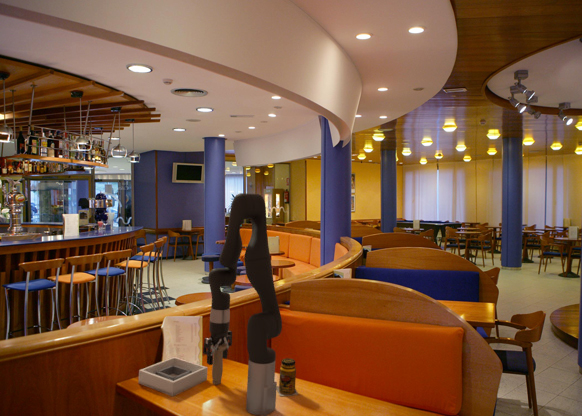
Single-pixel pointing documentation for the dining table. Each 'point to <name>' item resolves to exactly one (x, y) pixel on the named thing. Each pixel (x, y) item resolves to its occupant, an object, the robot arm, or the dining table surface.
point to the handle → (218, 364)
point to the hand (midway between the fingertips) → (217, 361)
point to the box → (172, 376)
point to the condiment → (287, 378)
